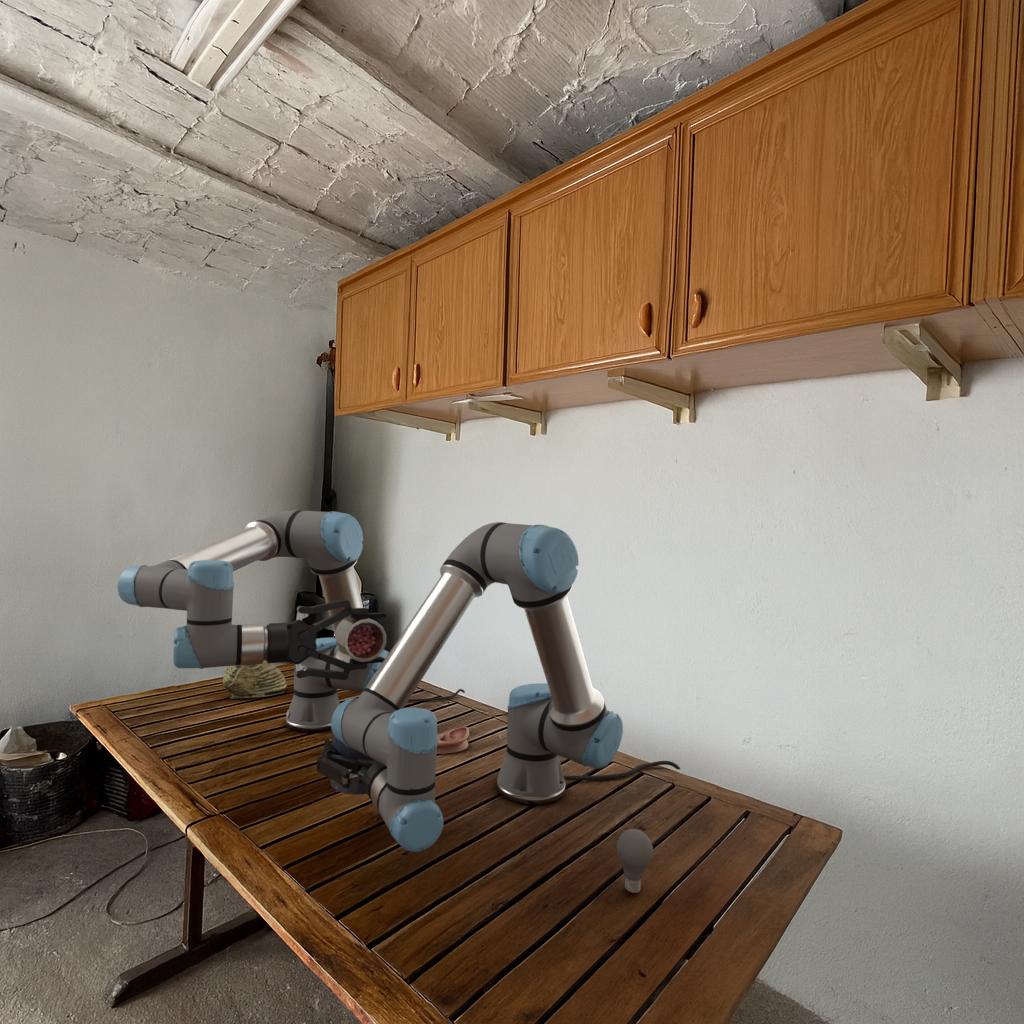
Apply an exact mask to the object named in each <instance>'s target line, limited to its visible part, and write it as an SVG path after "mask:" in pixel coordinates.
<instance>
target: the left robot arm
mask: <svg viewBox="0 0 1024 1024" xmlns="http://www.w3.org/2000/svg"><path fill="white" fill-rule="evenodd" d="M363 542H364V533H363V529H362V526H361V525H360V523H359V521H358V520H357V518H356V517H354V516H353V515H352V514H349V513H345V512H340V511H332V510H331V511H318V510H317V511H316V510H302V509H293V510H292V509H291V510H286V511H282V512H277V513H274V514H270V515H267V516H266V517H265V516H264V517H261V518H260V519H257V520H255V521H252V522H249V523H247V525H246V526H244V527H243V530H241V531H238V532H236V533H234V534H231V535H228V536H225V537H223V538H220V539H218V540H216V541H213V542H211V543H208V544H206V545H202V546H200V547H198V548H195V549H193V550H191V551H187V552H185V553H183V554H181V555H178V556H175V557H172V558H171V559H168V560H165V561H162V562H160V563H157V564H154V565H149V566H148V565H146V564H142V565H132V566H129V567H127V568H126V569H125V570H124V571H123V572H121V574H120V576H119V578H118V580H117V585H116V586H117V593H118V596H119V597H120V599H121V600H122V601H123V602H124V603H125V604H128V605H132V606H136V607H140V608H154V609H164V610H165V609H166V610H167V609H168V610H175V611H185V612H186V625H183V626H179V627H176V628H175V630H174V633H173V647H172V648H173V650H172V651H173V652H172V662H173V665H174V667H175V668H178V669H199V670H202V669H208V668H222V667H227V666H234V665H255V664H262V663H263V662H264V661H266V662H267V663H268V664H269V663H275V664H283V663H291V664H293V665H294V672H293V695H292V696H293V697H292V699H291V702H290V704H289V708H288V709H287V711H286V714H285V726H286V728H287V729H289V730H291V731H294V732H295V731H296V732H301V733H316V732H325V731H329V730H332V729H331V720H332V716H333V713H334V711H335V709H336V708H337V707H338V706H339V705H340V704H341V702H340V699H339V695H338V690H341V691H349V692H354V693H360V694H361V693H362V692H363V691H364V689H365V688H366V686H367V685H368V683H369V682H370V680H371V679H372V677H373V676H374V674H375V673H376V671H377V670H378V668H379V667H380V665H381V664H382V662H383V661H384V660H385V658H386V657H387V655H388V654H389V652H390V651H388V650H385V649H384V650H383V651H382V653H381V654H380V655H379V656H378V657H377V658H375V659H373V660H371V661H367V662H360V661H357V660H354V659H353V658H351V657H350V656H349V655H347V654H346V653H345V652H343V651H342V650H341V649H340V648H339V647H338V645H337V643H336V640H335V637H320V638H319V637H318V632H321V631H322V630H323V629H326V628H327V627H329V626H332V630H333V633H334V634H335V632H336V628H337V626H338V625H339V623H340V622H341V621H342V620H343V619H344V618H346V617H348V616H351V618H353V619H359V618H369V619H382V618H387V617H386V616H387V615H386V613H385V612H369V608H366V607H364V604H363V601H362V596H361V592H360V588H359V584H358V578H357V576H356V571H355V567H354V566H355V565H356V564H357V562H358V559H359V557H360V556H361V555H362V552H363V548H364V544H363ZM274 558H296V559H305V560H307V563H308V566H309V569H310V571H311V573H313V574H314V575H316V576H318V577H319V582H320V585H321V590H322V593H323V596H324V600H325V603H321V604H316V605H312V606H303V605H298V606H297V607H296V611H297V612H296V617H295V618H296V619H294V620H292V621H289V622H271V623H270V622H269V623H268V624H267V625H266V626H265V625H264V624H263V623H247V624H244V623H243V624H233V607H234V606H233V605H234V588H235V582H234V572H235V571H237V570H240V569H242V568H244V567H246V566H248V565H250V564H252V563H255V562H258V561H260V562H266V561H269V560H272V559H274ZM324 612H328V615H329V616H327V617H325V618H324V619H322V620H320V621H317V622H315V623H313V624H311V625H309V624H308V623H306V622H304V621H303V619H305V618H308V617H309V615H313V614H319V613H324ZM460 692H462V694H463V693H464V694H465V693H466V691H465V690H464V689H463V688H459V689H458V690H456V691H455V693H453V694H451V695H448V696H440V697H428V698H427V697H426V698H410V699H409V700H408V702H430V701H431V702H433V701H444V700H449V699H453V698H455V697H456V696H457V695H458V694H459V693H460ZM408 702H407V703H408Z"/></svg>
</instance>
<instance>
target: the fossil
mask: <svg viewBox="0 0 1024 1024" xmlns="http://www.w3.org/2000/svg"><path fill="white" fill-rule="evenodd" d="M222 676H223V677H222V685H223V687H224V688H225V690H226V691H228V693H229V698H230V699H250V698H264V697H271V696H275V695H281V694H284V693H285V691H286V689H287V687H288V686H287V680H286V678H285V676H284V674H283V673H282V672H281V669H279V668H278V667H277V665H276V663H269V664H268V663H267V662H266V661H264V662H263V663H262V664H255V665H234V666H225V668H224V671H223V675H222Z"/></svg>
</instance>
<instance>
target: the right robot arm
mask: <svg viewBox="0 0 1024 1024" xmlns="http://www.w3.org/2000/svg"><path fill="white" fill-rule="evenodd" d="M579 561H580V559H579V553H578V550H577V547H576V545H575V542H574V541H573V539H572V538H571V537H570V535H569V534H568V533H567V532H566V531H564V530H562V529H560V528H558V527H555V526H554V527H553V526H549V525H545V524H523V523H511V522H502V521H495V522H491V523H490V522H489V523H488V524H484V525H482V526H480V527H478V528H476V529H475V530H474V531H472V532H470V533H469V534H468V535H467V536H466V537H464V538H463V540H461V542H459V544H458V545H457V546H455V548H454V549H453V550H452V551H451V553H449V555H448V557H447V558H446V559H445V561H444V562H443V563H442V565H441V566H440V568H439V574H440V577H439V578H438V580H437V581H436V583H435V584H434V586H433V587H432V589H431V590H430V592H429V593H428V595H426V597H425V599H424V601H423V602H422V603H421V605H420V606H419V608H418V609H417V611H416V612H415V614H414V615H413V617H412V618H411V620H410V621H409V623H408V624H407V626H406V627H405V628H404V630H403V632H402V633H401V634H400V636H399V637H398V639H397V640H396V641H395V643H394V645H393V646H392V648H391V649H390V651H388V652H389V654H388V655H387V657H386V658H385V660H384V661H383V662H382V664H381V665H380V667H379V668H378V670H377V671H376V673H375V674H374V676H373V677H372V679H371V680H370V682H369V683H368V685H367V686H366V688H365V689H364V691H363V692H362V693H361V692H360V694H359V697H358V698H357V697H356V698H355V697H352V698H351V697H350V698H347V699H345V700H344V701H343V702H340V705H339V706H338V707H337V708H336V709H335V711H334V713H333V716H332V720H331V729H330V730H331V733H332V732H333V734H334V736H335V737H336V738H337V739H338V740H339V741H341V742H342V743H344V744H346V746H347V747H349V748H351V749H355V750H357V751H359V752H361V753H363V754H365V755H367V756H369V757H371V758H372V759H374V760H376V761H373V760H372V761H368V760H364V759H359V760H354V759H350V758H347V757H343V756H339V755H336V750H335V749H334V747H333V745H332V741H331V740H330V739H329V738H327V739H324V749H323V750H322V755H320V756H319V755H318V756H317V757H316V772H317V773H319V774H320V775H322V776H324V777H326V778H328V779H332V780H334V781H336V782H338V783H340V784H341V786H342V787H343V788H349V787H350V784H351V783H353V782H358V783H360V784H362V785H363V786H364V789H365V791H366V793H367V794H366V795H367V796H368V798H369V799H370V801H371V803H372V804H373V805H374V807H375V809H376V811H377V812H378V814H379V815H380V817H381V818H382V820H383V821H384V823H385V825H386V827H387V829H388V830H389V832H390V835H391V837H392V838H393V840H394V841H396V842H397V843H398V845H399V846H400V847H401V848H402V849H404V850H405V851H407V852H410V853H411V852H412V853H418V852H419V853H420V852H422V851H425V850H427V849H429V848H430V847H432V846H433V845H434V844H435V843H436V842H437V840H438V839H439V838H440V836H441V835H442V832H443V828H444V816H443V813H442V811H441V809H440V806H439V805H438V803H437V802H436V774H437V773H436V772H437V771H436V770H437V756H438V754H437V744H438V737H437V735H438V718H437V716H436V714H435V713H434V712H433V711H431V710H429V709H427V708H418V707H406V705H407V704H408V700H409V699H411V698H412V696H413V694H414V693H415V691H416V690H417V688H418V686H419V685H420V683H421V682H422V680H423V678H424V677H425V675H426V674H427V672H428V670H429V669H430V667H431V666H432V664H433V663H434V661H435V660H436V658H437V656H438V655H439V653H440V652H441V650H442V649H443V647H444V645H445V644H446V642H447V641H448V640H449V638H450V636H451V635H452V633H453V632H454V630H455V629H456V627H457V625H458V624H459V622H460V621H461V619H462V617H463V616H464V614H465V613H466V611H467V609H468V608H469V606H470V605H471V604H472V602H473V600H474V599H475V598H479V597H482V595H484V593H485V591H486V590H487V588H488V587H490V586H491V585H492V584H495V583H496V584H502V585H507V586H508V589H509V592H510V595H511V598H512V601H513V603H514V604H515V605H516V606H517V607H518V608H520V609H523V610H524V613H525V616H526V620H527V623H528V626H529V629H530V632H531V635H532V639H533V642H534V645H535V649H536V653H537V654H538V658H539V661H540V664H541V667H542V670H543V674H544V677H545V680H546V683H543V682H540V683H538V682H537V683H526V684H521V685H518V686H516V687H514V688H513V689H512V690H510V692H509V697H508V705H507V725H506V726H507V728H506V752H505V756H504V759H503V761H502V764H501V766H500V770H499V773H498V775H497V779H496V790H497V792H498V794H500V796H502V797H503V798H505V799H507V800H509V801H511V802H515V803H518V804H522V805H530V806H531V805H532V806H538V805H546V804H547V805H548V804H551V803H554V802H558V800H561V798H563V797H564V795H565V793H566V781H597V780H598V781H599V780H600V781H601V780H603V781H604V780H614V779H620V778H624V777H628V776H631V775H633V774H635V773H636V772H638V771H640V770H642V769H646V768H647V769H648V768H652V767H658V766H665V765H666V766H671V767H673V768H674V769H675V770H681V767H680V766H679V765H678V764H677V763H675V762H673V761H670V760H658V761H657V760H656V761H653V762H648V763H642V764H639V765H637V766H634V767H633V768H631V769H630V770H627V771H624V772H619V773H612V774H600V775H564V772H563V769H562V766H561V761H560V758H559V757H561V758H565V759H567V760H569V761H571V762H574V763H577V764H578V765H581V766H583V767H590V768H592V769H596V770H601V769H603V768H605V767H607V766H608V765H609V764H610V763H611V762H612V761H613V759H614V758H615V757H616V754H617V753H618V750H619V748H620V746H621V743H622V739H623V734H624V733H623V732H624V723H623V719H622V717H621V716H620V714H618V713H616V712H615V711H614V710H612V711H610V710H609V709H607V706H606V705H607V704H606V702H605V697H603V696H604V695H603V694H602V693H601V692H600V691H599V690H598V689H597V688H595V687H593V683H592V679H591V676H590V672H589V669H588V665H587V661H586V658H585V655H584V651H583V648H582V643H581V640H580V636H579V634H578V633H579V632H578V630H577V626H576V622H575V619H574V615H573V612H572V607H571V604H570V601H569V598H568V596H569V595H570V593H571V592H572V589H573V585H574V583H575V581H576V579H577V576H578V573H579V570H578V569H577V567H578V566H579V565H580V564H579ZM362 765H363V767H362Z"/></svg>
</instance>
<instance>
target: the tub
mask: <svg viewBox="0 0 1024 1024" xmlns="http://www.w3.org/2000/svg"><path fill="white" fill-rule="evenodd" d="M331 744H332V745H333V747H334V749H335V750H336V755H339V756H343V757H347V758H350V759H354V760H359V759H364V760H368V761H372V760H373V761H376V760H374V759H372V758H371V757H369V756H367V755H365V754H363V753H361V752H359V751H357V750H355V749H351V748H349V747H347V746H346V744H344V743H342V742H341V741H339V740H338V739H337V738H336V737H335V736H334V734H333V732H332V731H331ZM362 767H363V765H362ZM329 779H330V778H329ZM329 784H330V786H331V788H332V789H333V790H335V791H337V792H339V793H342V794H347V795H367V793H366V791H365V789H364V786H363V785H362V784H360V783H358V782H353V783H351V784H350V787H349V788H343V787H342V786H341V784H340V783H338V782H336V781H334V780H332V779H330V782H329Z"/></svg>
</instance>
